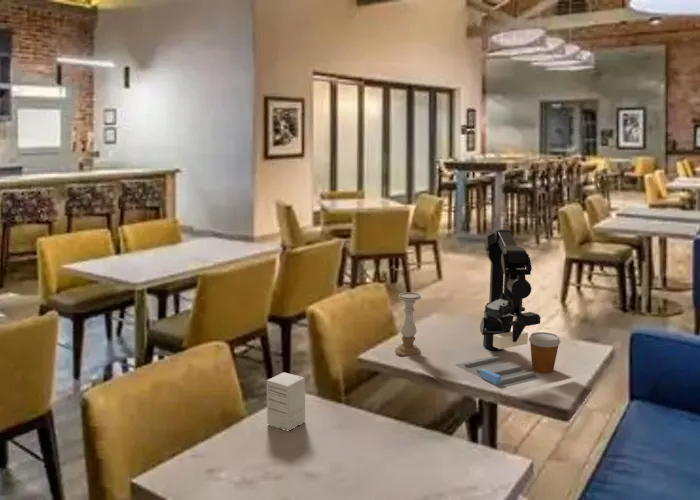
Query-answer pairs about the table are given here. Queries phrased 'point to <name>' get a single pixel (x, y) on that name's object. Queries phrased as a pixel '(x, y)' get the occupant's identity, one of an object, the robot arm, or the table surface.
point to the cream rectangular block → (509, 340)
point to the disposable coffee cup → (543, 351)
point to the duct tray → (498, 371)
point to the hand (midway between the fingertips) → (510, 340)
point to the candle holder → (408, 326)
